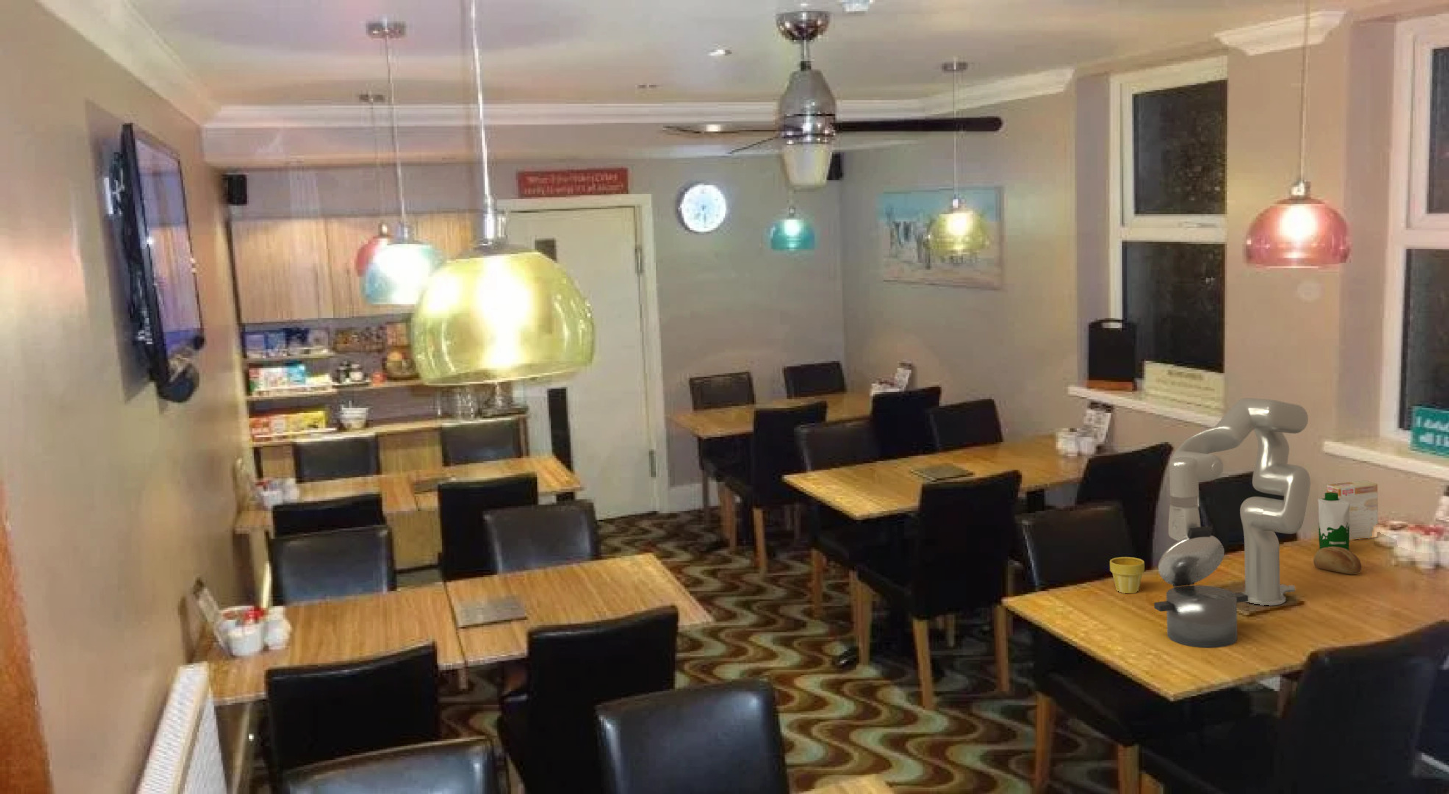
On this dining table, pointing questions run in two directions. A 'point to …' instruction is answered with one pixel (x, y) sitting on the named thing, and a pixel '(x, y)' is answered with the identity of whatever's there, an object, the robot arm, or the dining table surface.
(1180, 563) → the cooker lid
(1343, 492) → the coffeecake box
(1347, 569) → the bread roll
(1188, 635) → the pressure cooker
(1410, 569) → the dining table surface
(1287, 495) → the robot arm
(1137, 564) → the plant pot
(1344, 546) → the milk carton
